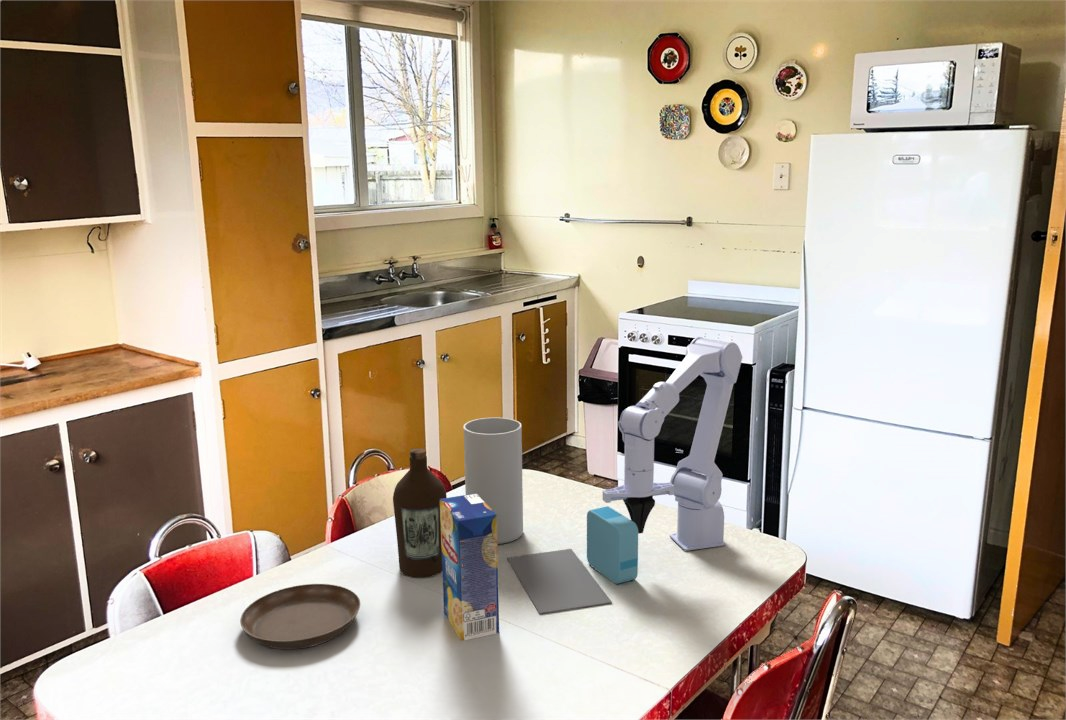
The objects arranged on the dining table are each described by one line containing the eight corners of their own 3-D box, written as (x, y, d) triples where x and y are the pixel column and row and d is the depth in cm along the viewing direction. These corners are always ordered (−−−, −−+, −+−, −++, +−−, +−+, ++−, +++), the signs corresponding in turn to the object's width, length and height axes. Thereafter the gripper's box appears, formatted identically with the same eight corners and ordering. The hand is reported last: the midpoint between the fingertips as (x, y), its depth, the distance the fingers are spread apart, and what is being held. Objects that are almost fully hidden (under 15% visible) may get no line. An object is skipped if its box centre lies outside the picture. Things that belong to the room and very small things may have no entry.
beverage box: (479, 604, 160) (476, 493, 155) (499, 633, 150) (496, 514, 145) (443, 611, 158) (439, 498, 153) (461, 641, 148) (458, 521, 143)
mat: (571, 550, 182) (571, 548, 182) (611, 603, 160) (612, 601, 160) (507, 558, 179) (507, 557, 179) (539, 614, 156) (539, 613, 156)
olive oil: (396, 558, 180) (391, 443, 174) (447, 554, 181) (443, 441, 176) (396, 581, 169) (389, 460, 164) (450, 577, 171) (445, 457, 165)
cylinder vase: (458, 528, 194) (455, 422, 189) (509, 518, 199) (507, 414, 194) (479, 550, 183) (475, 437, 178) (532, 539, 188) (530, 429, 183)
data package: (638, 581, 168) (639, 524, 166) (618, 587, 166) (619, 529, 164) (604, 558, 179) (605, 503, 176) (586, 562, 177) (586, 507, 174)
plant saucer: (223, 623, 155) (222, 606, 154) (328, 587, 168) (327, 571, 167) (271, 672, 140) (269, 654, 139) (382, 629, 152) (381, 612, 152)
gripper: (664, 456, 175) (663, 519, 178) (597, 464, 171) (596, 528, 174) (679, 468, 168) (677, 533, 171) (610, 475, 164) (609, 542, 167)
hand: (637, 531), depth 172 cm, fingers closed
